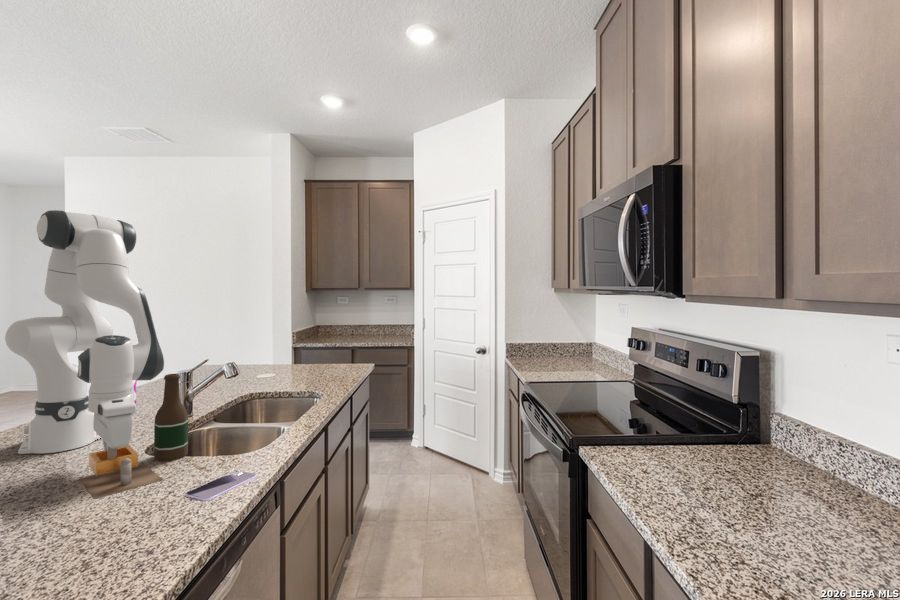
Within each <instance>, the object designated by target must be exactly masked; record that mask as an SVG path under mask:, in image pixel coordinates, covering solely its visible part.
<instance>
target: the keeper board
mask: <svg viewBox="0 0 900 600" xmlns="http://www.w3.org/2000/svg"><path fill="white" fill-rule="evenodd" d="M78 480H79V481H80V483H82V486H84V488H85V489H86V491H87V492H88V493H89V494H90V496H91V497H92V498H93V499H94V500H97V499H101V498H105V497H108V496H111V495H114V494H119V493H122V492H126V491H129V490H133V489H137V488H140V487H144V486H148V485H151V484H154V483H159V482H162V481H164V479H163V478H162V477H161V475H159V474H157V473H156V472H155V471H154V470H152V469H151V468H150V467H149V466H148V465H146V464H145V463H144V462H141V463H138V466H137V467H133V468H131V459H129V458H125V459H123V460H122V461H121V470H120V471H116V472H111V473H107V474H103V475H99V476H96V475H95V474H93V475H88V476H84V477H79V478H78Z"/></svg>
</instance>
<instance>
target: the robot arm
mask: <svg viewBox="0 0 900 600" xmlns="http://www.w3.org/2000/svg"><path fill="white" fill-rule="evenodd" d="M36 233H37V236H38V237H37V238H38V240H39V241H40V242H41V243H42V244H43V245H44V246H46V247H49V248H52V250H51V253H50V256H49V261H48V266H47V272H46V279H45V284H44V295H45V297H46V298H48V300H50V301H51V302H53V303H55V304H56V305H58V306H60V307H61V309H62V310H61V311H62V315H61V316H37V317H31V318H26V319H21V320H17V321H15V322H13V323H12V324H11V325H9V327H8V328H7V330H6V332H5V335H4V336H5V337H4V340H5V343H6V346H7V348H8V349H9V350H10V351H11V352H12V353H14V354H15V355H17V356H20V357H21V358H23V359H24V360H25V361H27V363H28V364H30V366H31V368H32V370H33V371H34V374H35V378H36V390H37V391H36V392H37V393H36V395H37V401H35V404H34V414H35V416H34V418H33V419H31V421H30V422H28V425H26V426H24V427H23V434H24V435H26V436H25V438H24V440H23V441H22V443H21V445H20V447H19V448H18V451H17V454H18V455H26V454H54V453H59V452H60V453H61V452H65V451H70V450H75V449H78V448H82V447H85V446H88V445H90V444H91V443H93V442H96V441H98V440H101V439H102V445H103V451H104V450H107V451H106V454H107V455H106V457H107V458H108V459H112V458H116V456H117V449H118V448H120V447H125V446H130V443H131V440H132V433H133V423H134V422H133V421H134V415H133V414H132V413H134V414H136V413H137V403H136V404H135V402H134V385H133V382H132V380H136V381H137V382H138V381H151V380H153V379H155V378H156V377H157V376H158V375H160V374H161V373H162V372H163V370H164V367H165V356H164V354H163V352H162V347H161V346H160V342H159V340H158V336H157V332H156V329H155V325H154V321H153V317H152V313H151V309H150V306H149V303H148V299H147V296H146V295H145V292H144V291H143V289H142V288H140V287H138V286H136V285H135V284H134V282H133V281H132V278H131V276H130V272H129V261H128V260H129V259H128V255H129V253H131V252H132V251H134V249H135V246H136V244H137V232H136V230H135V228H134V226H133V225H132V224H130V223H128V222H125V221H122V220H121V219H120V220H119V219H118V220H115V219H112V218H108V217H104V216H101V215H95V214H86V213H77V212H70V211H69V212H66V211H64V210H56V209H54V210H46V212H44V213H42V214H41V216H40V218H39V220H38V221H37V224H36ZM96 302H99V303H102V304H106V305H109V306H112V307H116V308H118V309H120V310H122V311H124V312H126V313H128V314H129V315H130V317H131V319H132V321H133V322H132V323H133V327H134V330H135V335H136V337H137V342H138V343H137V344H133V342H132V339H131V338H129V337H126V336H124V335H115V334H114V332H113V331H114V330H113V326H112V324H111V323H110V321H109V320H108V319H106V318H105V317H104V316H103V315H102V314H101V313H100V312H99V311H98V308H97V305H96ZM113 334H114V335H113ZM73 352H75V353H76V352H81V353H80V354H78V356H77V359H78V361H77V362H78V365H77V364H73V363H71V361H70V360H69V358H68V357H69V356H68V353H73ZM88 384H90V386H89V389H87V388H88ZM135 412H136V413H135ZM100 438H101V439H100ZM97 439H98V440H97ZM95 440H96V441H95Z"/></svg>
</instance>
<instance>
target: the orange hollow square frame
mask: <svg viewBox="0 0 900 600" xmlns="http://www.w3.org/2000/svg"><path fill="white" fill-rule="evenodd" d="M106 451H107V450H104V449H103V450H100V451H96V452H89V455H88V467H89V468H90V469H91V470H92V473H93V475H96V476H99V475H103V474H107V473H111V472H116V471H120V470H121V461H122V460H123V459H125V458H129V459H131V468H133V467H137V466H138V464H139V453H137V452H136V450H135V449H134V448H133V447H131V446H130V445H128V446H125V447H120V448H118V449H117V456H116V458H112V459H108V458H107V457H106V455H107V454H106Z"/></svg>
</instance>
